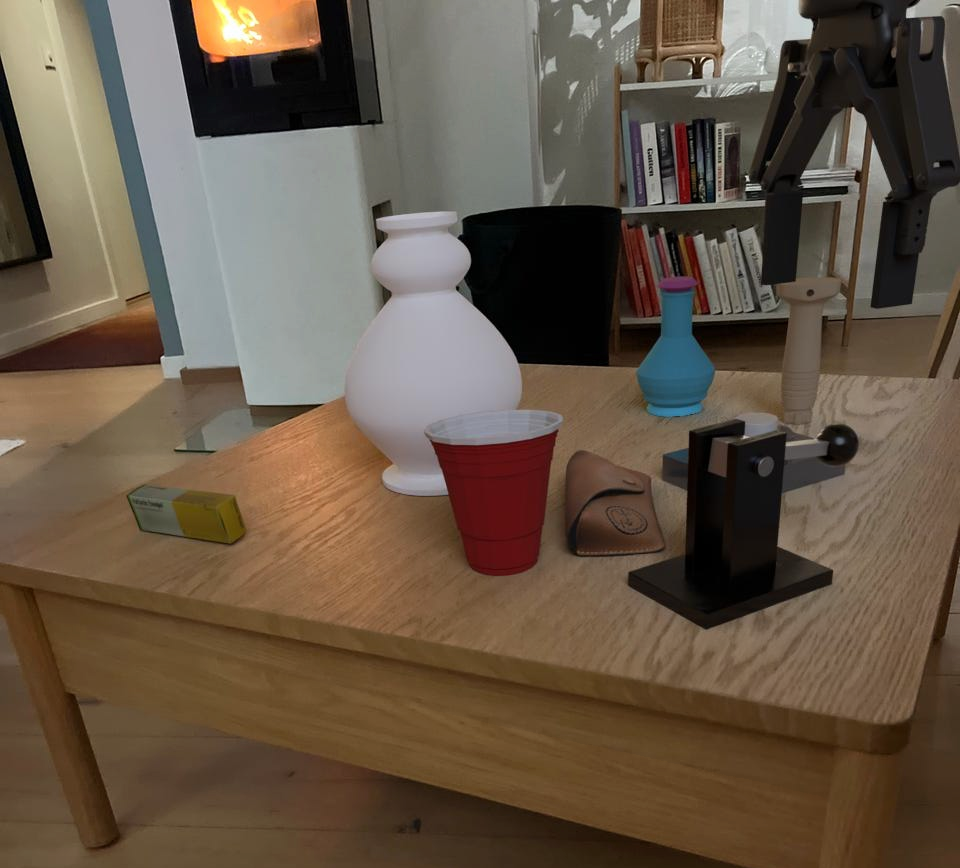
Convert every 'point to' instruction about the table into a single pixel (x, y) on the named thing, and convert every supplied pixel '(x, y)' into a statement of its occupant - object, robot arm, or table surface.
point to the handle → (803, 344)
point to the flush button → (758, 423)
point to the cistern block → (794, 469)
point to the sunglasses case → (609, 509)
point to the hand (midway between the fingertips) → (829, 294)
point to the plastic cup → (497, 483)
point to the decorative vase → (424, 352)
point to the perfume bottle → (676, 356)
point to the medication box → (187, 513)
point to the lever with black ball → (799, 448)
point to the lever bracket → (731, 535)
